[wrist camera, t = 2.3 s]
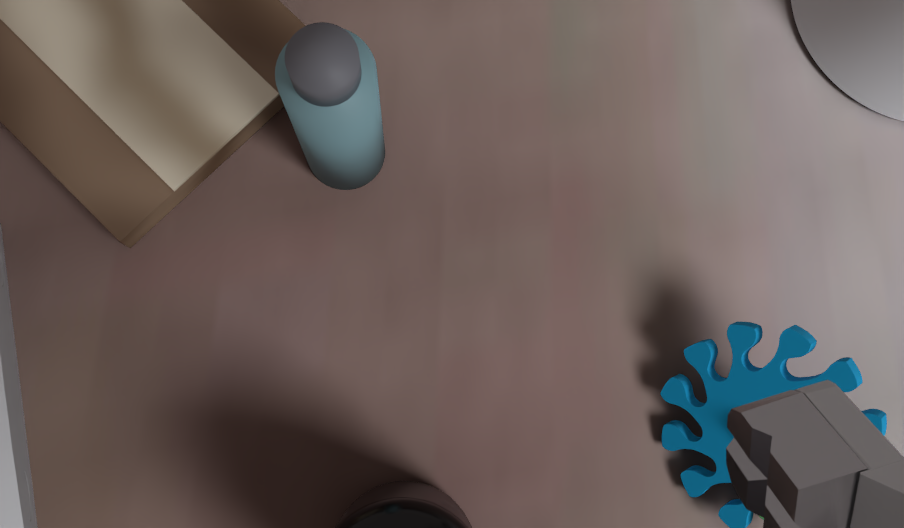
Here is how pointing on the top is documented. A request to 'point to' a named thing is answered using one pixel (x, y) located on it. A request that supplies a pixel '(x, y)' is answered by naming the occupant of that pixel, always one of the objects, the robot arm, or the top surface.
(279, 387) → the top surface
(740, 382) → the gear
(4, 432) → the white arched piece
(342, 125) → the peg
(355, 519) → the supplement bottle
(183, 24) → the floor panel
